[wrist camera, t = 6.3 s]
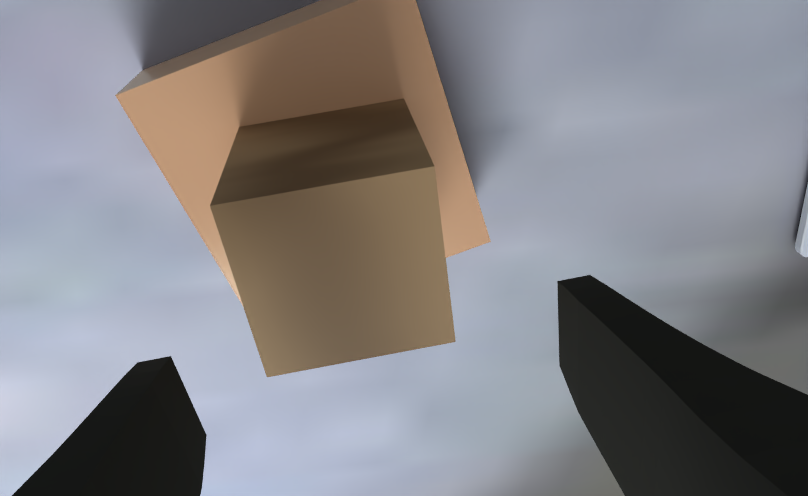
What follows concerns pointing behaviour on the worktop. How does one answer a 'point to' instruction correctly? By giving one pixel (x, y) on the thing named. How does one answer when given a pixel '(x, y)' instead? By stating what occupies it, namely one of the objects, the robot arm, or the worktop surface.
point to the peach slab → (299, 101)
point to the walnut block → (335, 237)
